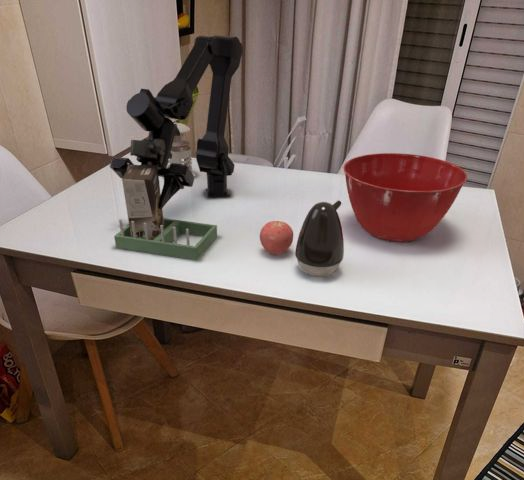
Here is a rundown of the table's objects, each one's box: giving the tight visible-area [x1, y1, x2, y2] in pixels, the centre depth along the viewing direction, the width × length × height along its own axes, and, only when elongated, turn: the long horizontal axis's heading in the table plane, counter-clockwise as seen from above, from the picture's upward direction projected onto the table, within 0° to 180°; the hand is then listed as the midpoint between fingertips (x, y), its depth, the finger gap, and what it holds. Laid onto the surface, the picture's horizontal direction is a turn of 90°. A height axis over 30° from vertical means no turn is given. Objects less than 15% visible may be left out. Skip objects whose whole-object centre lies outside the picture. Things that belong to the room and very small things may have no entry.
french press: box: [167, 119, 197, 178], centre depth 150 cm, size 10×12×25 cm
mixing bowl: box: [343, 152, 468, 243], centre depth 121 cm, size 28×28×16 cm
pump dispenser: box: [294, 200, 345, 277], centre depth 103 cm, size 10×10×15 cm
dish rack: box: [113, 217, 218, 261], centre depth 116 cm, size 13×20×7 cm, turn 74°
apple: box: [259, 220, 294, 256], centre depth 112 cm, size 7×7×8 cm
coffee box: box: [121, 164, 165, 240], centre depth 114 cm, size 9×6×16 cm
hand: (144, 206), depth 113 cm, fingers closed on coffee box, 7 cm apart
